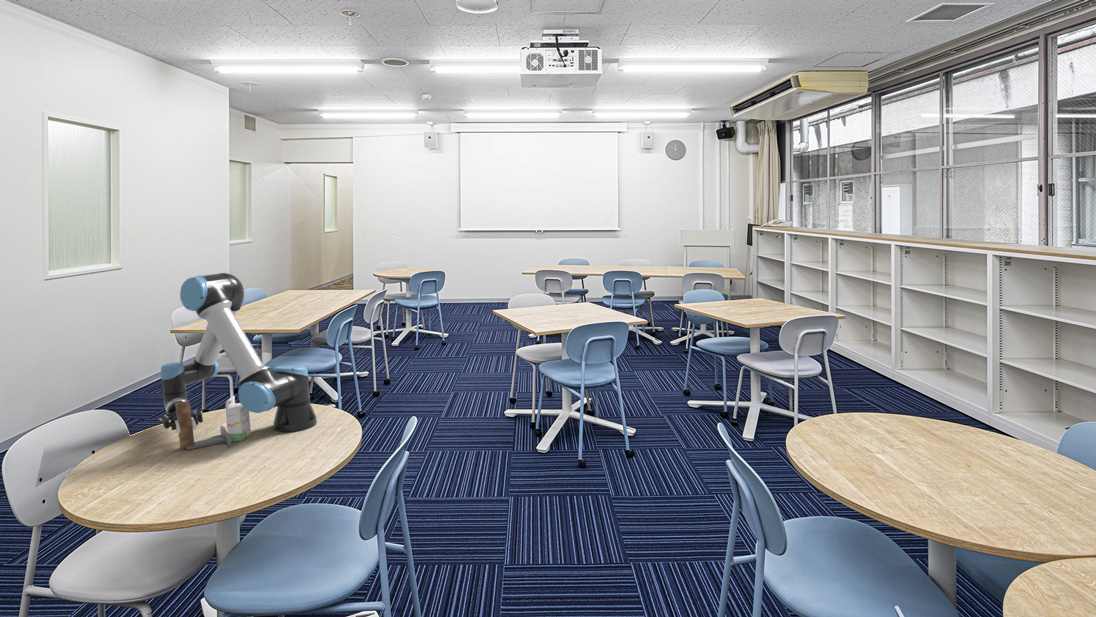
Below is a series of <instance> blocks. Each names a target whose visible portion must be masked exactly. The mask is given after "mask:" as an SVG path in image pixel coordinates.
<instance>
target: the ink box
mask: <svg viewBox="0 0 1096 617" xmlns="http://www.w3.org/2000/svg"><path fill="white" fill-rule="evenodd" d="M235 398H236V396H235V395H233V396H231V397H230V398H228V399H227V400H226V401H225V417H226V418H225V419H226V427H227V429H226V430H227V433H228V434H229V436H230V437H231V442H241V441H244V440H245V439H246V438H247V437H249V436H250V435H251V432H252V430H251V420H250V411H248V410H247V409H245V408H244V407H243V406H242V404H241V403H240V402H238V403H237V402H236V399H235Z"/></svg>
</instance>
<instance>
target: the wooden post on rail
mask: <svg viewBox="0 0 1096 617" xmlns="http://www.w3.org/2000/svg"><path fill="white" fill-rule="evenodd" d="M175 406H176V415H177V421H178V423H179V426H180V433H178V439H179V446H180V448H181V449H183V448H184V449H186V451H187V450H193V449H196V448H197V449H198V448H202V447H207V446H211V445H217V444H221V443H226V445H227V446H228V448H229V447H232V446H233V445H232V441H231V437H230V436H229V434H228V430H227V429H226V428H225V427H224V425H220V426H219V429H220V436H217V437H212V438H207V439H202V440H198V441H195V436H194V429H193V427H192V418H191V409H192V408H191V409H190V407H191V403H190V401H189V400H187V401H184V402H178V403H175Z"/></svg>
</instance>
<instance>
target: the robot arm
mask: <svg viewBox="0 0 1096 617" xmlns="http://www.w3.org/2000/svg"><path fill="white" fill-rule="evenodd" d="M244 289H245V288H244V285H243V283H242V282H241V280H240V279H239V278H238V277H237V276H235V275H233V274H231V273H227V272H221V273H220V272H219V273H213V274H205V275H196V276H191V277H189V278H186V279H185V280H184V281H183V283H182V284H181V287H180V291H179V296H180V302H181V304H182V306H183V307H184V308H185V309H186V310H189V311H191V312H195V313H196V314H197V316H198V318H199V319H202V320H206V322H207V326H206V328H205V329H204V333H203V335H202V339H201V341H200V344H199V346H198V349H197V351H196V354H195V357H194V359H193V361H192V363H189V364H185V365H184V363H182V362H179V361H178V362H170V363H165V364H162V366H160V378H161V384H162V392H163V393H162V395H163V408H164V409H165V411H166V414H160V415H158V417H159V423H161V424H162V425H163V427H164V429H170V428H171V431H175V430H176V432H177V434H179V433H180V426H179V423H178V421H177V415H176V406H175V403H178V402H184V401H188V395H187V386H189V385H191V384H194V383H198V382H201V381H205V380H209V379H211V378H213V377H216V375H218V373H219V364H218V361H217V360H218V357H219V355H220V354H221V353H220V352H221V351H222V350H221V349H223V351H224V352H225V354H226V355H227V358H228V359H229V361H230V362H231V364H232V366H233V368H234V369H235V371H236V373H237V374H238V376H239V380H238V382H237V383H238V385H239V388H238V391H237V394H238V396H237V398H238V400H239V403H241V404H242V406H243V407H244V408H245V409H247V410H248V411H249V413H254V414H261V413H263V412H268V411H271V410H272V409H274V408H276V412H275V415H274V419H273V429H274V430H275V431H277V432H284V433H285V432H298V431H299V432H300V431H303V430H308V429H310V428H312V427H314V426H315V425H316V424H317V423H318V420H317V416H316V414H315V411H314V409H313V407H312V404H311V395H310V382H309V381H310V380H309V377H310V376H309V373H308V372H309V371H308V369H307V367H306V366H304V365H297V364H294V365H293V364H291V365H290V364H289V365H288V364H287V365H277V366H275V367H273V369H272V367H271V366H267V365H264V364H263V361H262V360H261V358H260V357H259V355H258V353H257V351H256V350H255V348H254V346H253V345H252V343H251V342H250V340H249V338H248V336H247V335H246V333H245V331H244V330H243V328H242V326H241V324H240V323H239V320H238V319H237V317H236V316H235V315H236V312H239V311H240V310H241V308H242V305H243V302H244V297H245V290H244ZM190 409H191V418H192V427H193V431H196V430H197V426H198V425H199V424H200V423H203V422H204V420H203V408H202V407H201V408H197V409H195V410H194V409H192V408H191V406H190Z"/></svg>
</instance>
